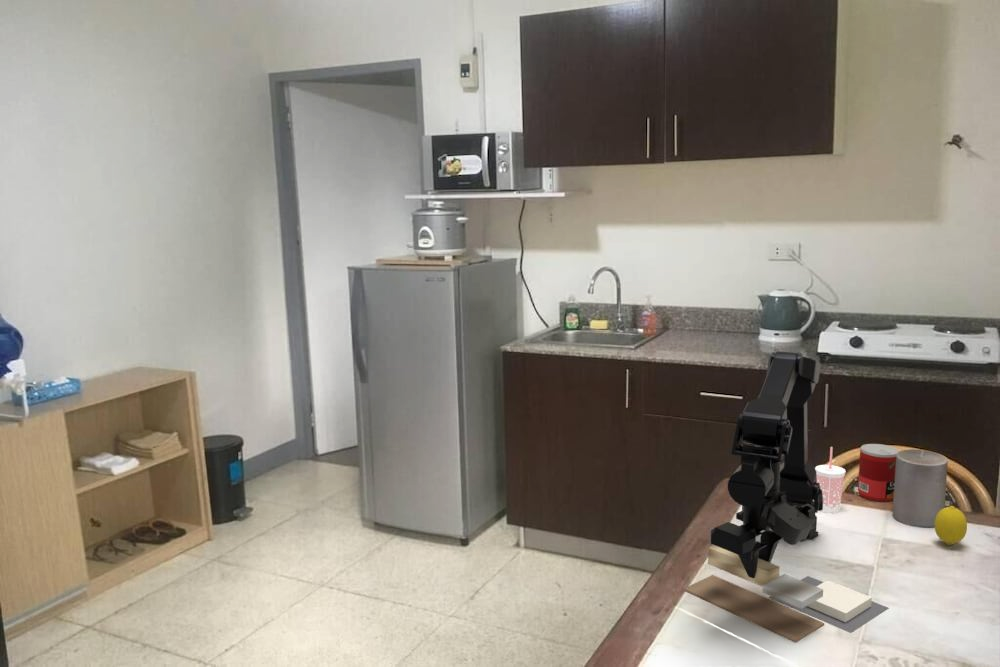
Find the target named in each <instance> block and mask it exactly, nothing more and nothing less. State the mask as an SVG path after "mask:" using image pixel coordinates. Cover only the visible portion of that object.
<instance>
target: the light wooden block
mask: <svg viewBox="0 0 1000 667" xmlns="http://www.w3.org/2000/svg"><path fill="white" fill-rule="evenodd" d="M707 550H708V551H707V558H708V559H707V565H709V566H713V567H715V568H716V569H719V570H722V571H724V572H726V573H728V574H731V575H733V576H735V577H738V578H741V579H743V580H745V581H748V582H750V583H752V584H755V585H757V586H760V587H762V593H764V594H766V595H768V596H769V597H770V596H773V597H775V598H777V599H780V600H782V601H784V602H787V603H789V604H791V605H794V606H796V607H798V608H801V609H802V608H804V607H806V606H807V605H809V604H811V603H813V602H814V601H816V600H818V599H819V598H821V597H823V589H821V588H818V587H816V586H813V585H811V584H808V583H806V582H803V581H801V579H798V578H796V577H793V576H790V575H788V574H785V573H784V574H782V575H780V566H779V565H777V564H774V563H769V562H767V561H764V560H762V559H759V558H758V564H757V571H756V575H755V578H751V577H749V576H748V575H747V572H746V570H745V568H744V566H743V564H742V562H741V560H740V557H739V556H738V554H735V553H733V552H730V551H728V550H725V549H723V548H720V547H718V546H715V545H713V544H712V546H710V547H708V549H707Z"/></svg>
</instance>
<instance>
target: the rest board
mask: <svg viewBox="0 0 1000 667" xmlns="http://www.w3.org/2000/svg"><path fill="white" fill-rule="evenodd" d="M683 591H684V592H687V594H691V595H693V596H695V597H697V598H699V599H701V600H702V601H703V600H704V601H705V602H708V603H709V604H711V605H714V606H715V607H719V608H720V609H723V610H725V611H727V612H729V613H732V614H734V615H736V616H737V617H740V618H742V619H744V620H746V621H748V622H751V623H753V624H754V625H757V626H759V627H761V628H764V629H766V630H768V631H770V632H772V633H774V634H776V635H778V636H781V637H783V638H784V639H787V640H789V641H791V642H793V643H798V642H800V641H801V640H803V639H804V638H806V637H807V636H809V635H811V634H813V633H814V632H816V631H817V630H819V629H820V628H823V627H824V626H825V622H824V621H821V620H819V619H817V618H815V617H812V616H810V615H808V614H805V613H803V612H801V611H798V610H796V609H794V608H791V607H789V606H787V605H785V604H782V603H780V602H778V601H775V600H773V599H771V598H767V597H765V596H763V595H760V594H758V593H755V592H754V591H751V590H748V589H746V588H745V587H741V586H739V585H738V584H734V583H733V582H730V581H728V580H725V579H723V578H721V577H718V576H716V575H714V574H711V575H709V576H707V577H705V578H703V579H701V580H698V581H697V582H694V583H692V584H690V585H689V586H687V587H684V588H683Z"/></svg>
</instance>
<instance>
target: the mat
mask: <svg viewBox="0 0 1000 667" xmlns="http://www.w3.org/2000/svg"><path fill="white" fill-rule="evenodd" d="M800 580H801V581H803V582H806V583H808V584H811V585H813V586H818V585H820V584H822V583H823V582H824V581H822V580H819V579H816V578H814V577H811V576H809V575H807V576H805V577H803V578H801V579H800ZM768 599H770V600H772V601H774V602H777V603H779V604H781V605H784V606H786V607H788V608H791V609H793V610H795V611H797V612H800V613H802V614H804V615H807V616H809V617H811V618H814V619H816V620H818V621H821V622H823V623H826V624H828V625H831V626H833V627H836V628H838V629H841V630H842V631H845V632H848V633H850V634H852V633H854V632H855V631H856V630H858V629H860V628H861V627H862V626H864V625H866V624H867V623H869V622H870V621H872V620H873V619H876V617H879V615H881V614H882V613H884V612H885V611H887V610H889V609H890V608H889V607H888V606H885V605H883V604H880V603H879V602H875V601H873V600H872V601H871V607H869V608H868V609H866V610H864V611H863V612H861V613H860V614H858V615H857V616H855V617H853V618H852V619H850V620H849V621H847V622H843V621H841V620H838V619H836V618H834V617H831V616H829V615H827V614H824V613H822V612H820V611H817V610H815V609H812V608H810V607H808V606H806V607H804V608H802V609H801V608H798V607H796V606H794V605H791V604H789V603H787V602H784V601H782V600H780V599H777V598H775V597H773V596H770V595H769V597H768Z"/></svg>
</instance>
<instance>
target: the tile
mask: <svg viewBox="0 0 1000 667" xmlns="http://www.w3.org/2000/svg"><path fill="white" fill-rule="evenodd" d="M822 582H823V583H822V584H820V585H818V586H816V587H818V588H821V589H823V597H821V598H819V599H818V600H816V601H814V602H813V603H811V604H809V605H807V606H808V607H810V608H812V609H815V610H817V611H820V612H822V613H824V614H827V615H829V616H831V617H834V618H836V619H838V620H841V621H843V622H847V621H849V620H850V619H852V618H853V617H855V616H857V615H858V614H860V613H861V612H863V611H864V610H866V609H868V608H869V607H871V601H873V600H872V599H873V597H872V596H869V595H867V594H863V593H862V592H859V591H856V590H853V589H851V588H848V587H847V586H846V587H845V586H843V585H841V584H838V583H836V582H833V581H830V580H825V581H822Z"/></svg>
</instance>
